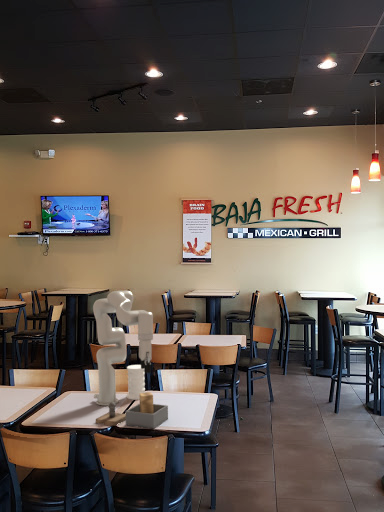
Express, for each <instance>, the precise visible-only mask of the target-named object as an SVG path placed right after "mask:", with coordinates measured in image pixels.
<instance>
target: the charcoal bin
mask: <svg viewBox="0 0 384 512" xmlns="http://www.w3.org/2000/svg"><path fill="white" fill-rule="evenodd" d="M125 414H126V420H125V426H126V425H127V426H128V427H134V426H138V427H137V428H141V427H143V428H142V429H148V428H150V430H154V429H156V428H158V427H159V426H160V425H162V424H163V423H165V422H166V421H168V420H169V405H167V404H156V403H153V414H149V413H140V402H139V403H137V404H136V405H134V406H132V407H131V408H128V409H127V410H125Z"/></svg>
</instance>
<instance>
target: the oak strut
mask: <svg viewBox="0 0 384 512" xmlns="http://www.w3.org/2000/svg"><path fill="white" fill-rule="evenodd" d="M139 403H140V413H149V414H153V404H154V394H153V393H152V392H151V391H150V392H149V391H147V392H144V393H140V399H139Z"/></svg>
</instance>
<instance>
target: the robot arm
mask: <svg viewBox="0 0 384 512" xmlns="http://www.w3.org/2000/svg"><path fill="white" fill-rule="evenodd" d="M133 303H134V294H133V293H132V292H131V291H130V290H114V291H111V292H110V293H108V295H107V296H106V298H99V299H97V300H95V302H94V303H93V306H92V310H93V314H94V318H95V321H96V331H97V332H96V333H97V341H98V344H99V345H101V346H106V347H101V348H99V349H98V350H97V352H96V354H95V356H96V362H97V370H98V393H94V396H93V398H94V399H96V402H95V403H96V405H98V406H102V407H103V406H105V407H106V406H107V407H109V404H110V403H111V402H113V403H115V405H117V404H118V403H119V399H118V398H117V392H116V388H117V387H116V369H115V368H114V367H113V366H112V365H113V364H116V363H117V364H118V363H123V362H124V361H126V359H127V343H126V342H127V341H126V333H125V331H124V329H123V328H122V327H118V326H117V327H116V326H115V327H113V324H112V319H111V317H110V316H109V315H108V314H114V313H115V314H116V316H115V317H116V318H117V321H118V322H119V323H120V324H122V325H123V326H126V327H132V326H137V340H138V342H139V343H138V358H139V359H140V365H141V369H144V372H145V374H150V373H152V363H151V361H152V354H153V353H152V351H153V350H152V349H153V348H152V341H153V340H154V315H153V312H151V311H146V310H145V309H136V310H132V307H133ZM107 345H108V347H107ZM109 345H115V346H109Z"/></svg>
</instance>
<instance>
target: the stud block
mask: <svg viewBox="0 0 384 512" xmlns="http://www.w3.org/2000/svg"><path fill="white" fill-rule="evenodd" d="M116 407H117V404H115V403H113V402H111V403H110V404H109V405H108V412H106V413H105V414H103V415H101V416H99V417H97V418H95V424H98V425H99V424H100V425H107V426H114V427H116V425H117V424H118V423H120V424H121V422H122V423H123V422H126V413H119V412H116ZM118 425H119V424H118ZM118 425H117V426H118Z"/></svg>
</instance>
